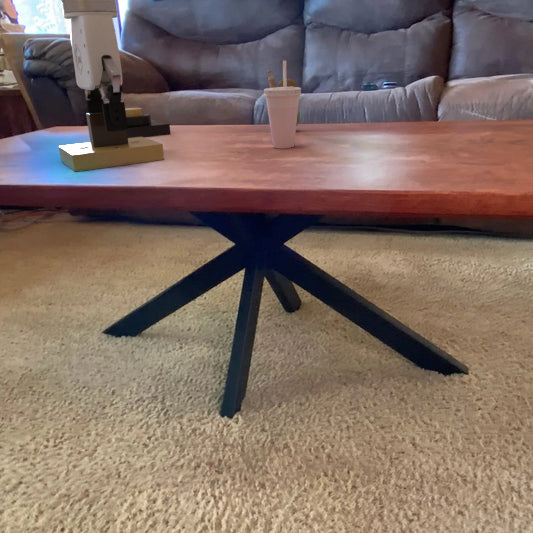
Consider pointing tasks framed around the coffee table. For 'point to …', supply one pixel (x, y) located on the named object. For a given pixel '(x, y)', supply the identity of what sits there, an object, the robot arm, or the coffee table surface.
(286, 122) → the smoothie
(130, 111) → the bell button
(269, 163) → the coffee table surface
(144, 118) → the block
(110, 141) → the lock turn
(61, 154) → the plate
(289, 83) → the snail figurine
